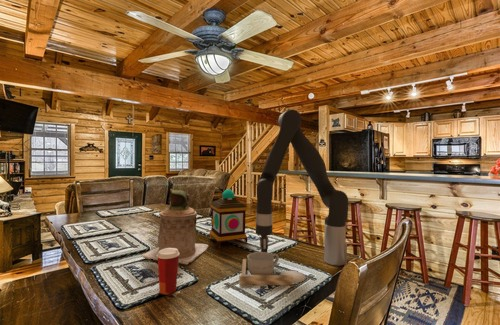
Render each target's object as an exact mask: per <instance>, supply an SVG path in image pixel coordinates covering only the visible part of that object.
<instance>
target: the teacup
mask: <svg viewBox="0 0 500 325" xmlns="http://www.w3.org/2000/svg"><path fill="white" fill-rule="evenodd" d="M246 256H247V258H246V259H247V271H248V272H249V275H273V274H272V273H273V272H274V269H275V268H274V267H275V265H276V264H278V262H279V261H280V260H279V258H280V257H279V255H278V254H277V252H276V253H270V252H268V251H267V252H261V251H256V252H255V251H254V252H251V253H249V254H247V255H246ZM274 257H275V259H274Z"/></svg>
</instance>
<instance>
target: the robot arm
mask: <svg viewBox="0 0 500 325" xmlns="http://www.w3.org/2000/svg"><path fill="white" fill-rule="evenodd" d="M277 122H278V127H279V132H278V135H277V137H276V139H275V141H274V144H273V145H272V147H271V149H270V151H269V153H268V154H267V158H266V159H265V162H264V166H263V170H262V172H261V174H260V176H259V178H258V179H259V180H258V182H257V184H256V215H255V234H256V235H258V236H259V237H258V240H259V248H260V252H267V253H268V249H269V240H270V239H269V236H271V235H272V234H273V222H274V221H273V191H274V190H273V185H274V182H275V179H276V178H277V176H278V174H279V172H280V169H281V167H282V164H283V162H284V159H285V156H286V154H287V151H288V148H289V146H290V144H291V146H292V147H293V150H294V152H295V154H296V155H297V157H298V159H299V162H300V163H301V165H302V167H303V168H304V170H305V172H306V173H307V174H308V176H309V179H310V180H311V182H312V183H313V185H314V186H315V188H316V190H317V192H318V194H319V197H320V199H321V201H322V204H323V205H324V206H325V207H326V208H328V215H327V216H325V218H324V235H323V236H324V237H323V238H324V239H323V240H324V242H323V243H324V245H323V247H324V248H323V250H324V251H323V252H324V253H323V261H324V263H326V264H329V265H331V266H343V265H347V264H346V263H348V243H347V242H346V233H347V231H346V229H347V228H346V225H347V221H348V217H349V216H348V215H349V198H348V195H347V194H346V193H345V192H344V191H342V190H338V189H336V188H335V187H334V186H333V183H332V182H331V181H330V179H329V176H328V172H327V167H326V166H327V165H326V163H325V160H324V158H323V157H322V156H321V155H322V154H320V152H319V150H318V149H317V148H316V146H315V145H314V144H313V143H312V142H311V141H310V140H309V139H308V138H307V136H306V135H305V133H304V132H303V130H302V128H301V124H302V115H301V114H300V112H299V111H298V110H295V109H287V110H286V111H284V112H282V113H281V114H280V115H279V117H278V121H277Z"/></svg>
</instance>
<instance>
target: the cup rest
mask: <svg viewBox="0 0 500 325" xmlns="http://www.w3.org/2000/svg"><path fill="white" fill-rule="evenodd" d="M241 264H242V265H241V274H239V275H238V276H239V277H238V278H239V279H238V281H239V282H238V285H252V284H256V285H261V286H262V285H263V286H266V285H268V286H269V285H270V286H271V285H272V286H273V285H274V286H293V284H294V283H293V276H292V275H280V274H270V275H251V274H247V258H243V259H242V263H241Z"/></svg>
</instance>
